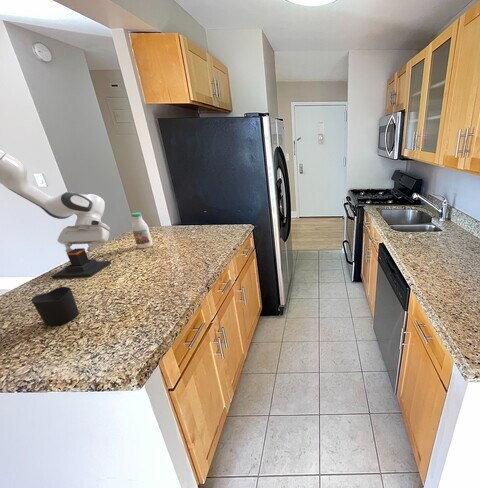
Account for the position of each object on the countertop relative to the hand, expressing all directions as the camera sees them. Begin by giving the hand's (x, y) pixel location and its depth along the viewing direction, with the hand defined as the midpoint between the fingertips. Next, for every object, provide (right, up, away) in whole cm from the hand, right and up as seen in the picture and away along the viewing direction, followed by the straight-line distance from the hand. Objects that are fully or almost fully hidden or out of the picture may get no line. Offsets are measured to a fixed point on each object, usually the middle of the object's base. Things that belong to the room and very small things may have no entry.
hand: (79, 251), depth 122 cm
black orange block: (0, -8, +2) cm, 8 cm away
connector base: (0, -9, +2) cm, 9 cm away
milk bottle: (+10, +2, +30) cm, 32 cm away
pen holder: (+24, -23, -31) cm, 45 cm away
